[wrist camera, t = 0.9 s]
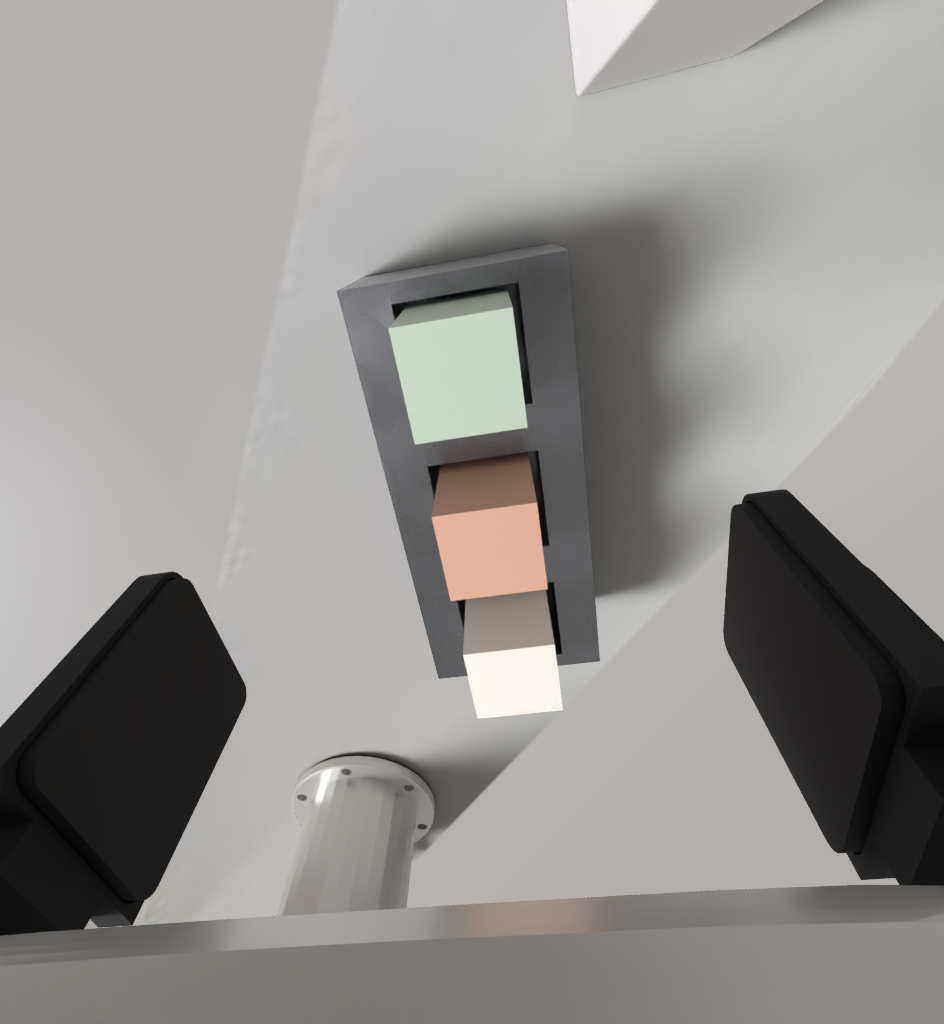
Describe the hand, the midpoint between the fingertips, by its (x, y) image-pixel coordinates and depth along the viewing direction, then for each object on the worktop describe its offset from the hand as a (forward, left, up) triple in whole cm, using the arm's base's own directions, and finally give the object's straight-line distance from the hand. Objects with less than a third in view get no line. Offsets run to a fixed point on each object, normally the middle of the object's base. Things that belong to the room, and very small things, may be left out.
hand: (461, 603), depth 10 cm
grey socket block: (-8, 0, -24) cm, 25 cm away
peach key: (-8, 0, -19) cm, 21 cm away
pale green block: (0, 0, -19) cm, 19 cm away
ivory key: (-16, 0, -19) cm, 25 cm away
